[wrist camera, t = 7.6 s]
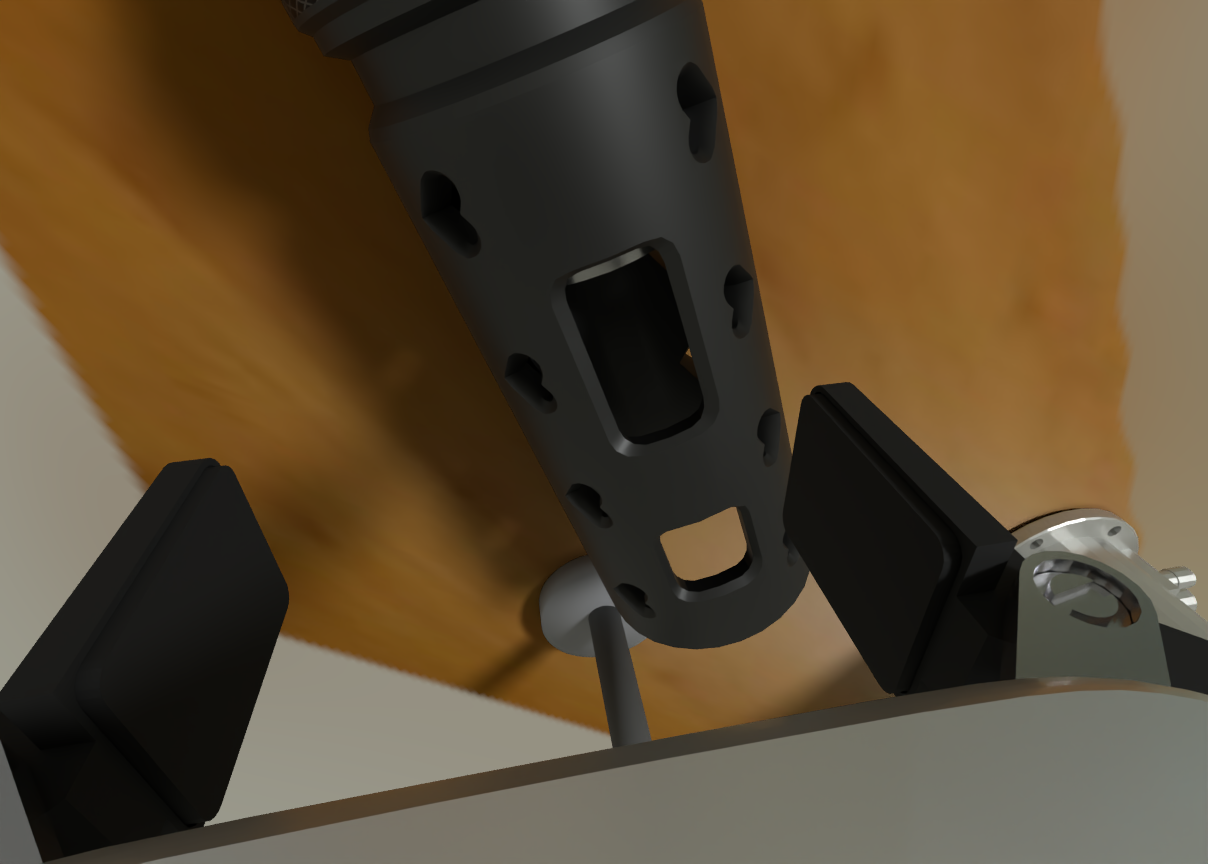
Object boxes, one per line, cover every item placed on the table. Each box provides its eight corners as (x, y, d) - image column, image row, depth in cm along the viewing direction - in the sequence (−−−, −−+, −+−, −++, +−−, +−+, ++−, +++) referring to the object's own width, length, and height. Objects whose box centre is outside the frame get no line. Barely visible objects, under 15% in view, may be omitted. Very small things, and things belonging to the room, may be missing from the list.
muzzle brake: (586, 514, 32) (626, 692, 23) (218, -222, 16) (-86, -518, 7) (758, 448, 31) (863, 605, 23) (561, -378, 15) (669, -891, 7)
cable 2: (659, 543, 33) (778, 873, 20) (657, 625, 37) (756, 947, 24) (533, 562, 33) (571, 921, 20) (544, 644, 37) (583, 989, 23)
